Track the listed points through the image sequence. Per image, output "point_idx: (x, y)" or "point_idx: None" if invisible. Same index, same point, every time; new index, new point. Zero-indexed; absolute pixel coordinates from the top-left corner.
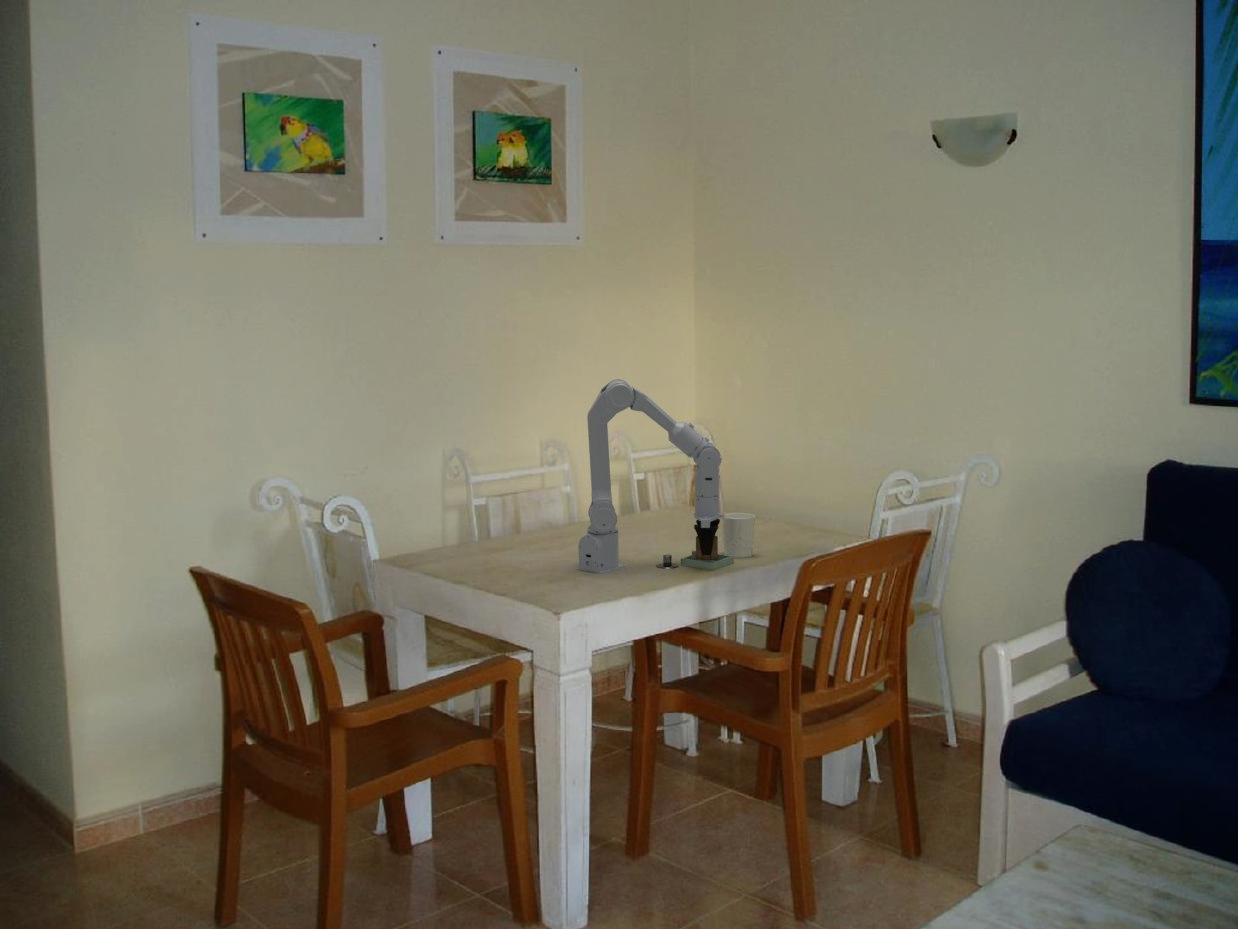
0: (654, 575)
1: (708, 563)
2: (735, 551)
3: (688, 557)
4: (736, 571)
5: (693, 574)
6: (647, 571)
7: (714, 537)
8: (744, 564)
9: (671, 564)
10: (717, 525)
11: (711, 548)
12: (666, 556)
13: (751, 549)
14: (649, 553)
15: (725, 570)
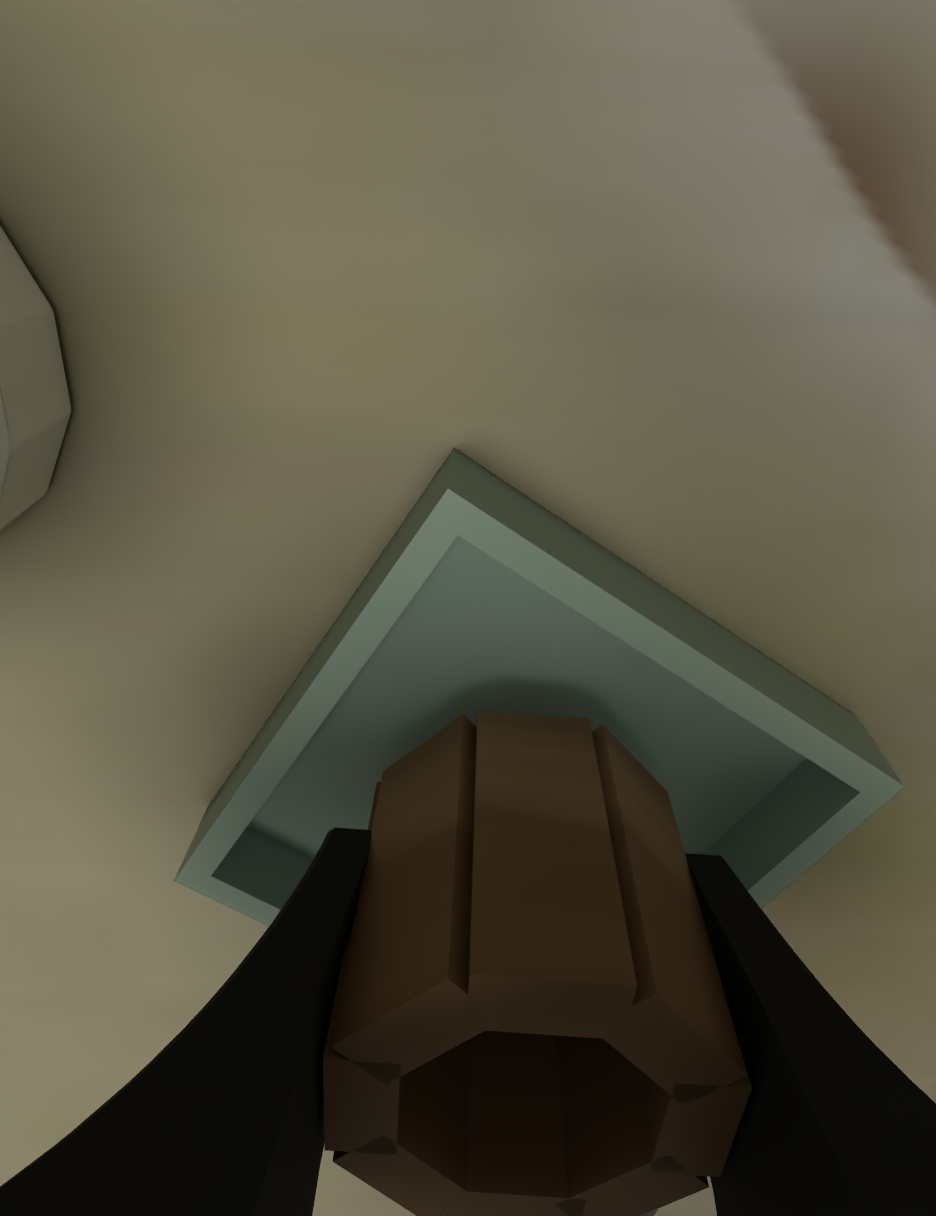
0: None
1: (846, 825)
2: (20, 439)
3: None
4: (890, 426)
5: (929, 895)
6: None
7: (584, 1024)
8: (428, 278)
9: None
10: (265, 1201)
11: (770, 932)
12: (656, 1210)
13: None
14: (11, 1167)
15: (798, 571)
